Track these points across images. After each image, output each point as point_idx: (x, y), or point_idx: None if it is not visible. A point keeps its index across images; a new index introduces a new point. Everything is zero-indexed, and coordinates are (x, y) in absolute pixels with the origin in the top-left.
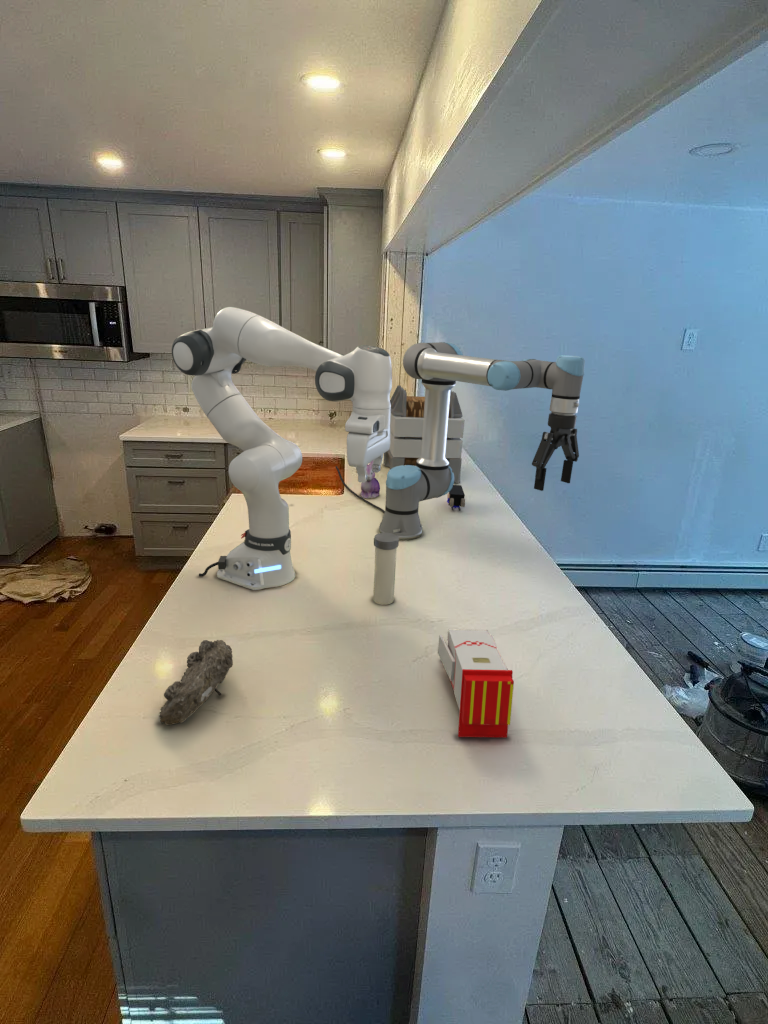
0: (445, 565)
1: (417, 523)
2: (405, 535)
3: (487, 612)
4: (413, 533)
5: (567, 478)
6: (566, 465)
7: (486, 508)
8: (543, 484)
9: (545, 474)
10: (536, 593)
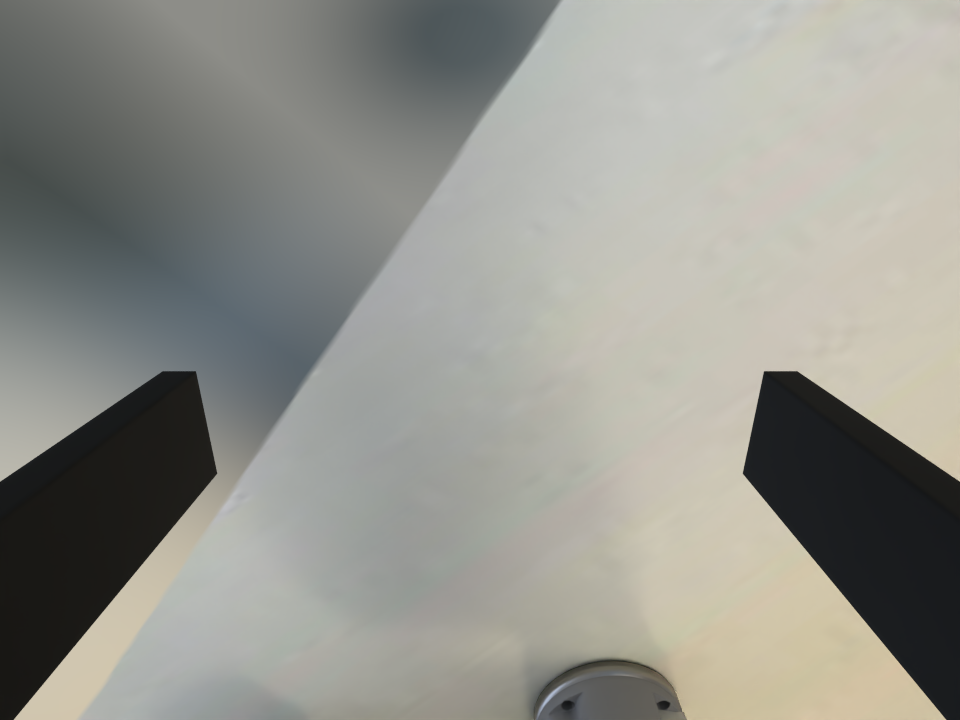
0: (712, 482)
1: (603, 716)
2: (653, 684)
3: (951, 149)
4: (626, 681)
5: (169, 422)
6: (43, 603)
7: (165, 707)
8: (831, 408)
9: (936, 498)
10: (663, 126)
